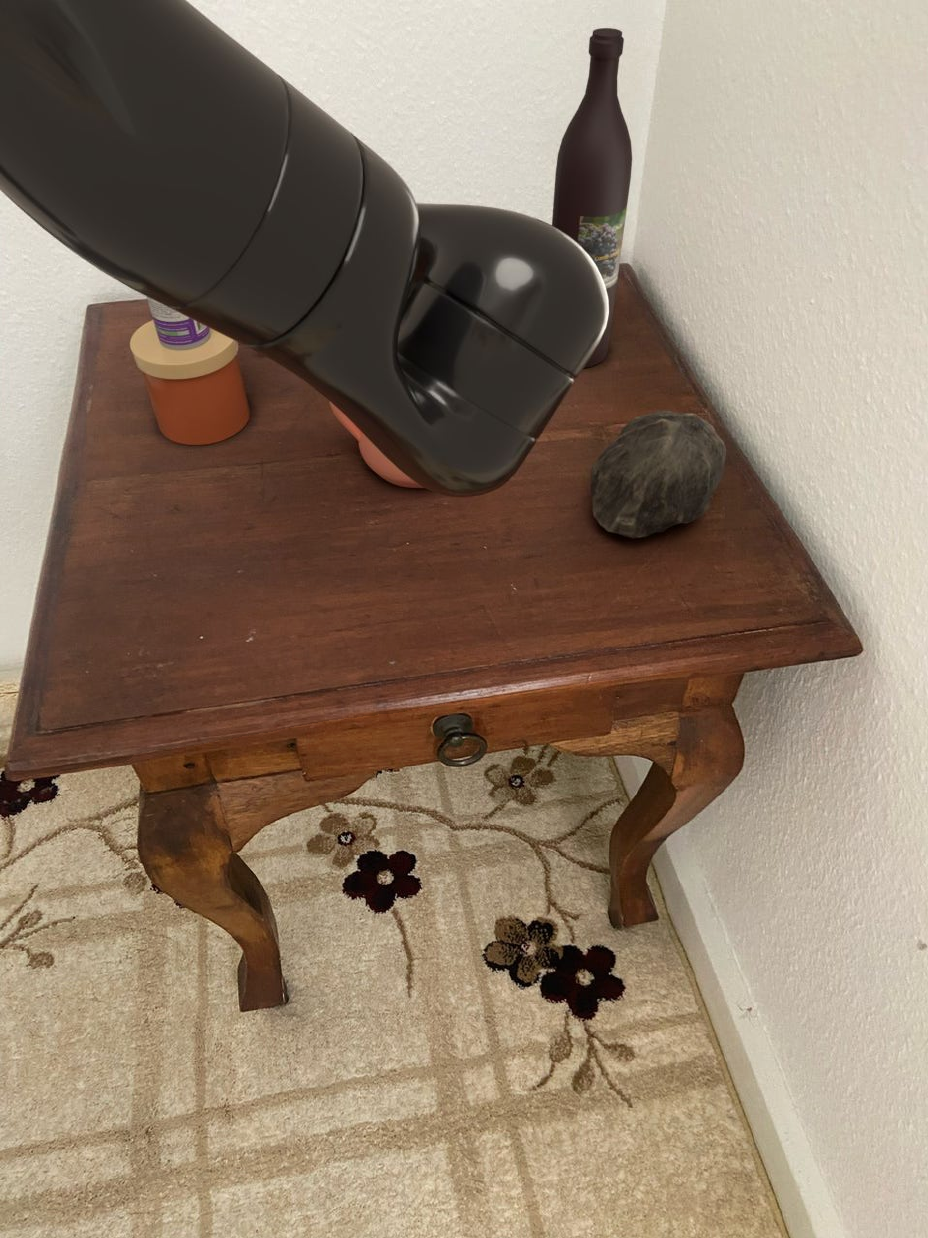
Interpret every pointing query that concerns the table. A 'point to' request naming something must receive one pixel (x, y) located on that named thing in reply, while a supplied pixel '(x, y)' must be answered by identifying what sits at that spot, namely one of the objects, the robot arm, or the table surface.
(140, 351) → the jar
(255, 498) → the table surface
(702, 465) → the rock
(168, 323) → the container
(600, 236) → the wine bottle
